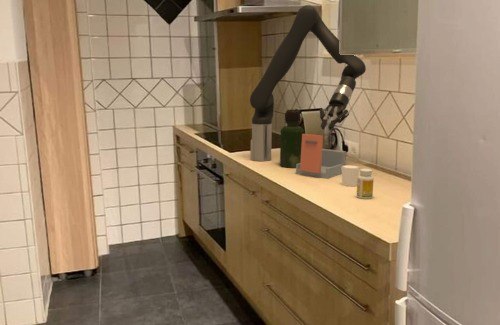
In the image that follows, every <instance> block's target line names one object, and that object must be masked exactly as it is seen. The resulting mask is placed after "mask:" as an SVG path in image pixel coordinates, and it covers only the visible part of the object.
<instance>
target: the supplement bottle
mask: <svg viewBox="0 0 500 325" xmlns="http://www.w3.org/2000/svg"><path fill="white" fill-rule="evenodd" d="M372 174H373V170H372V169H370V168H361V169H359V176H358V179H357V186H356V197H357V198H359V199H363V200H370V199H372V198H373V194H374V193H373V192H374V180H375V179H374V176H373V175H372Z"/></svg>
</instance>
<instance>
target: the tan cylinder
mask: <svg viewBox="0 0 500 325" xmlns="http://www.w3.org/2000/svg"><path fill="white" fill-rule="evenodd" d="M341 168H342V174H341V184H342V186H344V187H357V179H358V176H359V175H360V166H359V165H353V164H352V165H351V164H350V165H349V164H346V165H344V166H342V167H341Z"/></svg>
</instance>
